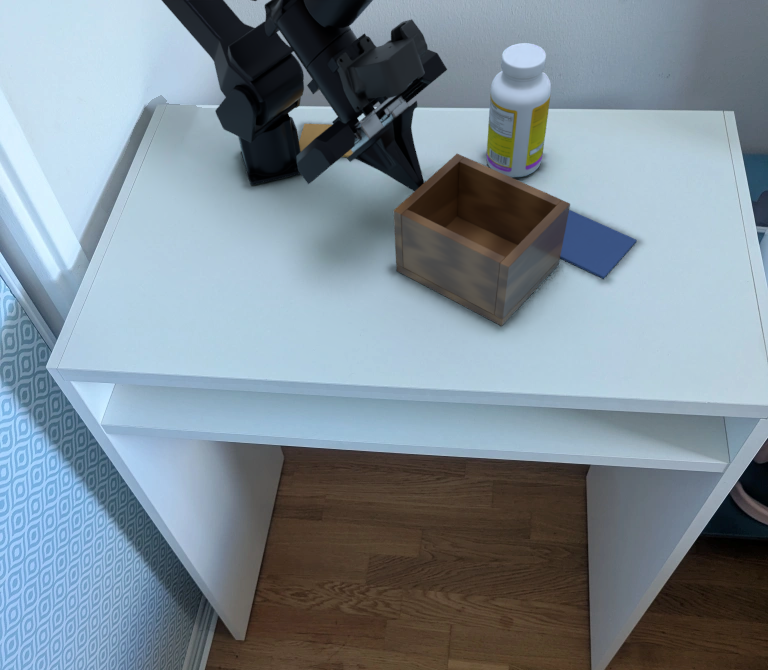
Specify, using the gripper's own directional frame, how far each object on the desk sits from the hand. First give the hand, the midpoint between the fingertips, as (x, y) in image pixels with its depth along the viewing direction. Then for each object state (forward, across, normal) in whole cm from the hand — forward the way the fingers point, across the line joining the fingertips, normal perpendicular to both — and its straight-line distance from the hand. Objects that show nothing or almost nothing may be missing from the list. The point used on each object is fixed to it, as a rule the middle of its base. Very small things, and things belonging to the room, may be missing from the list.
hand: (420, 188), depth 80 cm
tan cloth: (-8, +9, +18) cm, 21 cm away
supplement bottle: (+6, +17, +4) cm, 19 cm away
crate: (+10, 0, -1) cm, 10 cm away
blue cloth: (+14, +10, -5) cm, 18 cm away
